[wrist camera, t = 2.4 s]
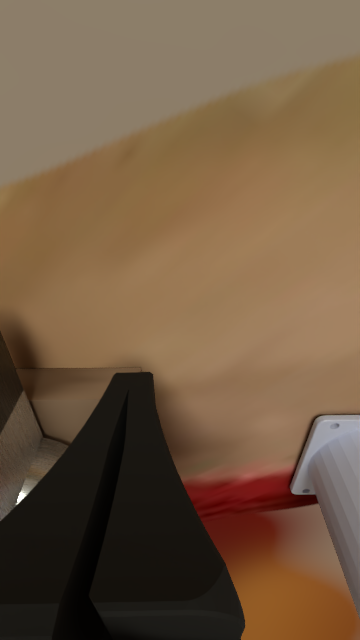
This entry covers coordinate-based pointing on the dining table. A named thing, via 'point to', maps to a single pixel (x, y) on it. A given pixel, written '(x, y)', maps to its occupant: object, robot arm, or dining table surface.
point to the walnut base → (65, 397)
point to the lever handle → (20, 439)
